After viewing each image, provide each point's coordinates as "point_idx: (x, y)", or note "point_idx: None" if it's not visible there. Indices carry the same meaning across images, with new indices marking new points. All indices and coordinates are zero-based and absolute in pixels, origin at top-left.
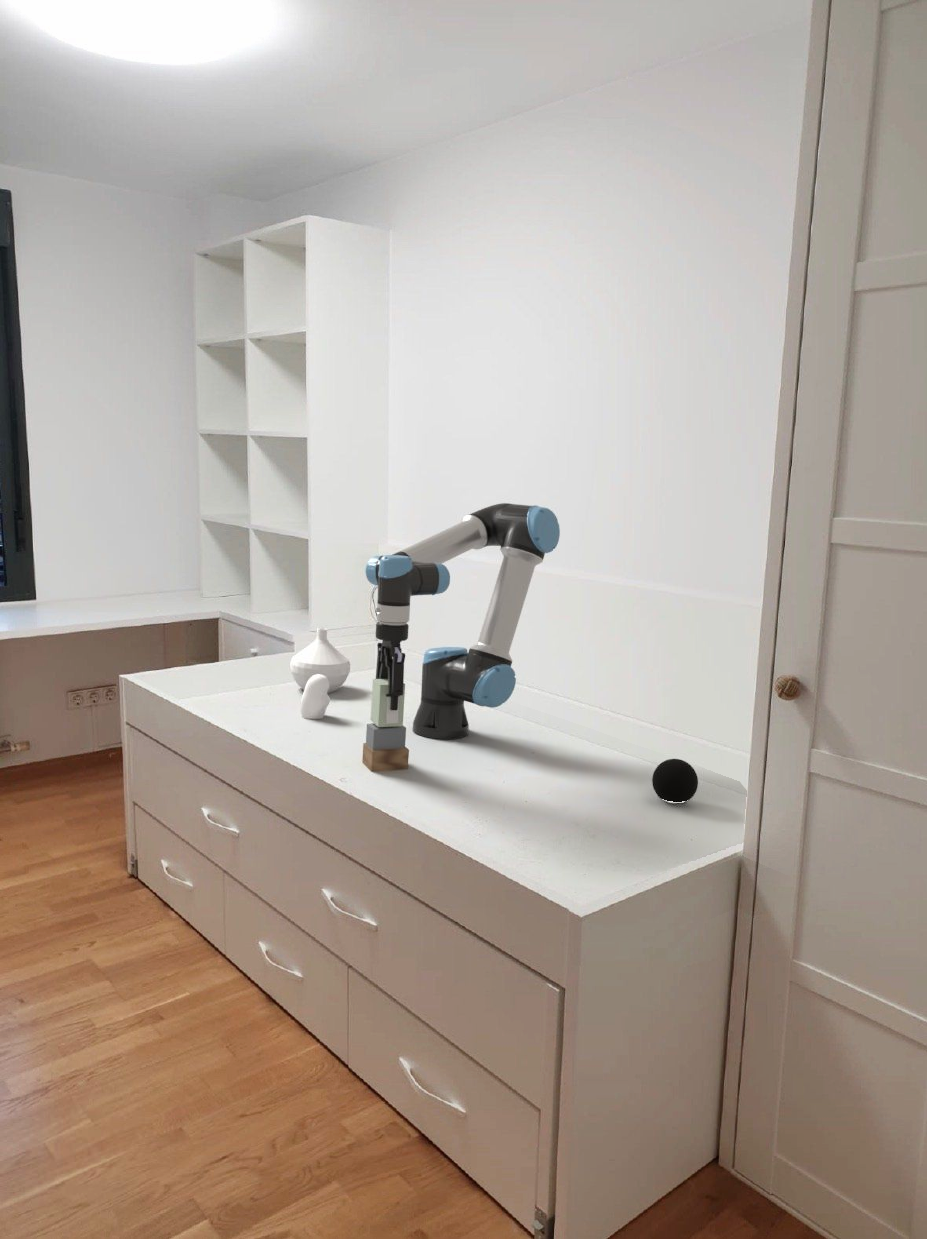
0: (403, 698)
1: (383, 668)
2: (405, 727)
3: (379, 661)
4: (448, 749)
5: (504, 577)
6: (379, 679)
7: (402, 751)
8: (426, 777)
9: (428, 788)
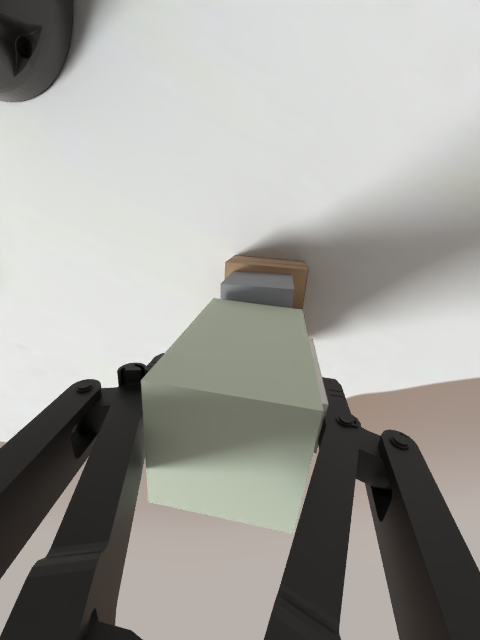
0: (311, 362)
1: (125, 544)
2: (290, 290)
3: (3, 569)
4: (170, 55)
5: None
6: (161, 480)
7: (305, 287)
8: (378, 243)
9: (454, 275)
